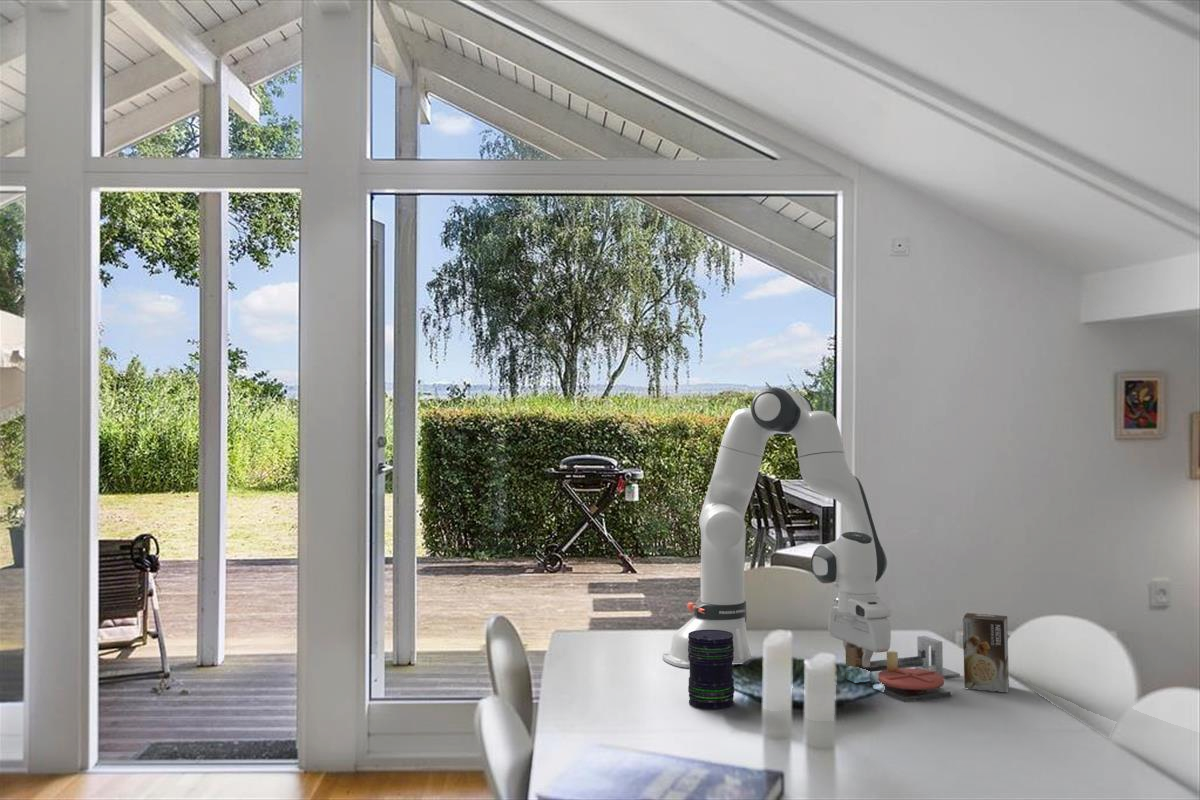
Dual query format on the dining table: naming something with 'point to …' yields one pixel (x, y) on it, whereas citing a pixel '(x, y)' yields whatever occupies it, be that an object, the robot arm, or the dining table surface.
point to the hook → (856, 653)
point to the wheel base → (915, 693)
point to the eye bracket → (934, 656)
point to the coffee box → (985, 652)
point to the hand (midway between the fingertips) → (858, 663)
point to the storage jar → (711, 669)
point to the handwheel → (908, 676)
